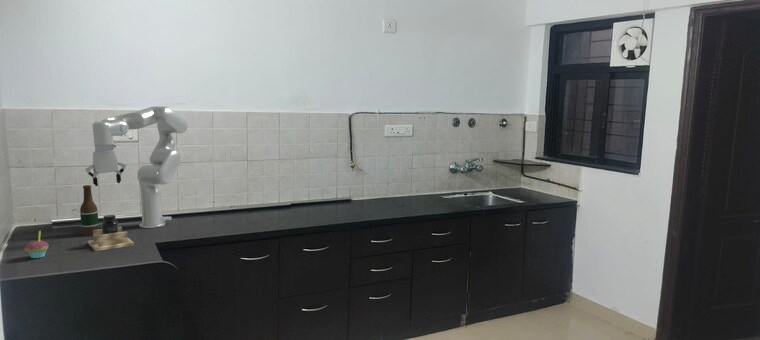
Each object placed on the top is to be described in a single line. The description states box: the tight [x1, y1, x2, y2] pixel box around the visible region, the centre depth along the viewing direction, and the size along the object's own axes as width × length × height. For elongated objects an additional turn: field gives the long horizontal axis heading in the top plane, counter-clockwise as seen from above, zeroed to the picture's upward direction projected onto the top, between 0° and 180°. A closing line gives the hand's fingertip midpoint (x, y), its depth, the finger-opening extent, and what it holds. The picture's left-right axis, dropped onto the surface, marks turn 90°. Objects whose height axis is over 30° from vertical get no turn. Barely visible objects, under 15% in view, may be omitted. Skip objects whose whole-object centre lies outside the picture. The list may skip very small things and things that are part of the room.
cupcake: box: [24, 230, 50, 258], centre depth 230 cm, size 9×8×12 cm
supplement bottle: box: [101, 214, 120, 235], centre depth 251 cm, size 7×7×12 cm
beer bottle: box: [79, 184, 100, 237], centre depth 269 cm, size 8×8×24 cm
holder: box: [88, 226, 135, 252], centre depth 251 cm, size 16×16×6 cm
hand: (107, 184), depth 260 cm, fingers open, 9 cm apart
